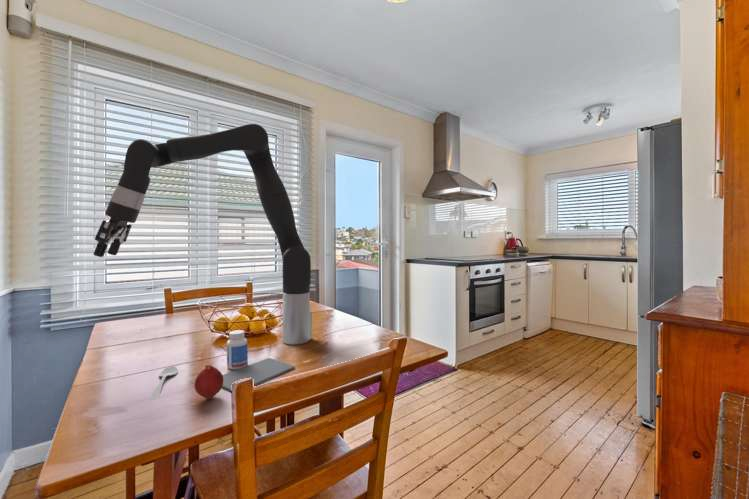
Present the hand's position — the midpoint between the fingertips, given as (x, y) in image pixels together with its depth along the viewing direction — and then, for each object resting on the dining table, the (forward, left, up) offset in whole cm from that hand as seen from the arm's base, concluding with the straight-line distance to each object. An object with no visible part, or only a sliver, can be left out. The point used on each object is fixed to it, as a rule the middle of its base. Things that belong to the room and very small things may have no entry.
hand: (105, 255), depth 97 cm
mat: (-17, +47, -31) cm, 58 cm away
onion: (-4, +49, -31) cm, 58 cm away
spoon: (0, +33, -31) cm, 46 cm away
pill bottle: (-18, +38, -31) cm, 52 cm away
